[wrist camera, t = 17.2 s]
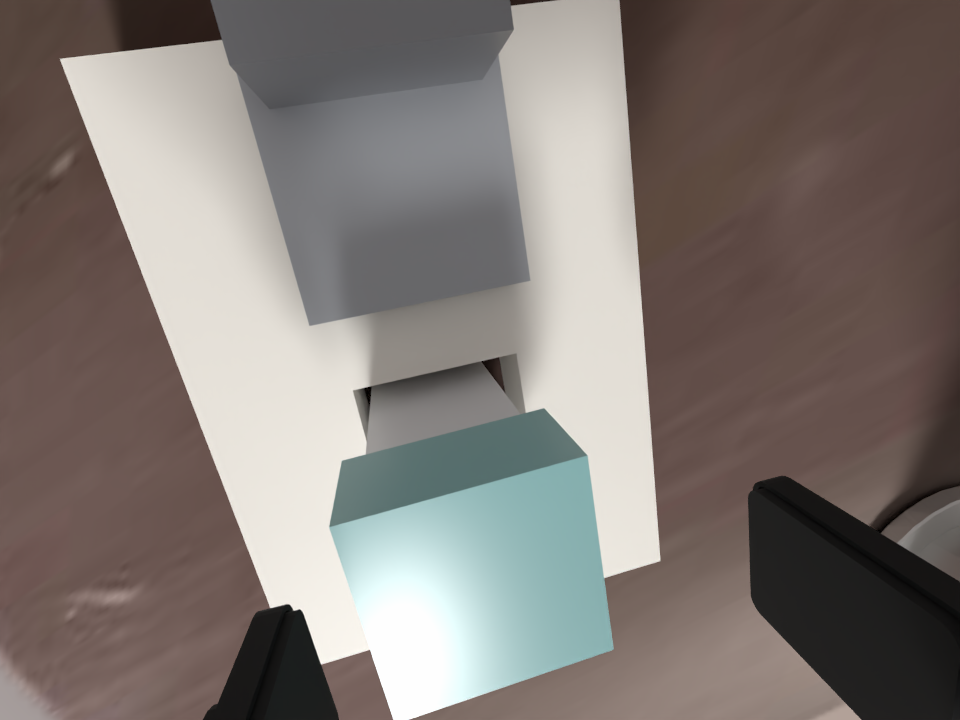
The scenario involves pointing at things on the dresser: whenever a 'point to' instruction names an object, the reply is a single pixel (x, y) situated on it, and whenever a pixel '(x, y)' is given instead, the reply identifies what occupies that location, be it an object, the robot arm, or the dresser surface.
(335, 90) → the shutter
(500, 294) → the socket
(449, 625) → the plug
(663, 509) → the dresser surface
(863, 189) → the dresser surface
